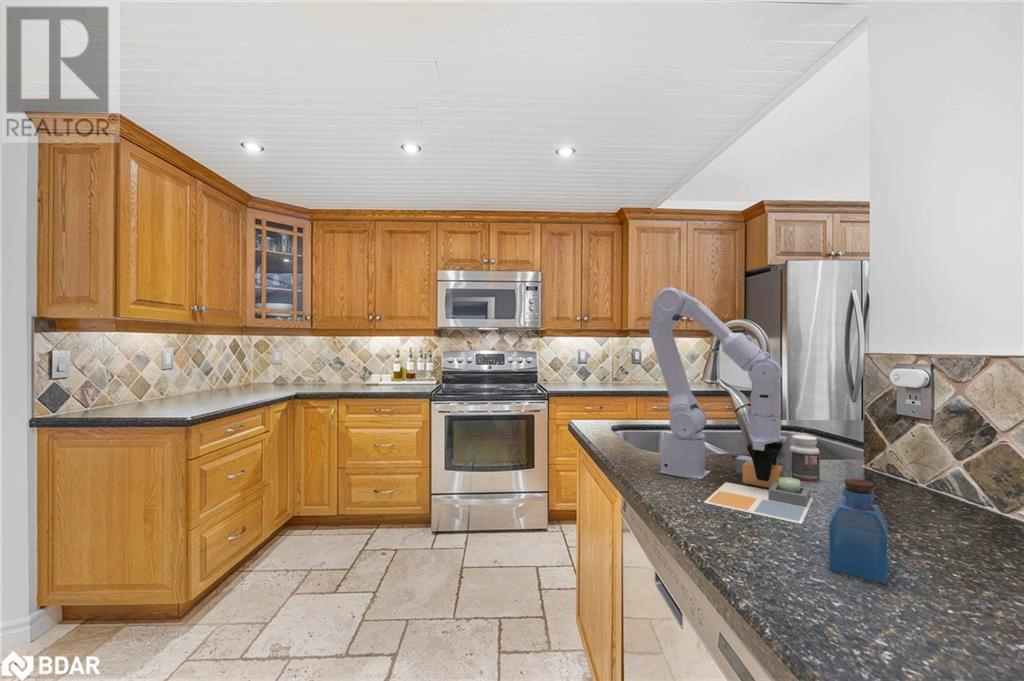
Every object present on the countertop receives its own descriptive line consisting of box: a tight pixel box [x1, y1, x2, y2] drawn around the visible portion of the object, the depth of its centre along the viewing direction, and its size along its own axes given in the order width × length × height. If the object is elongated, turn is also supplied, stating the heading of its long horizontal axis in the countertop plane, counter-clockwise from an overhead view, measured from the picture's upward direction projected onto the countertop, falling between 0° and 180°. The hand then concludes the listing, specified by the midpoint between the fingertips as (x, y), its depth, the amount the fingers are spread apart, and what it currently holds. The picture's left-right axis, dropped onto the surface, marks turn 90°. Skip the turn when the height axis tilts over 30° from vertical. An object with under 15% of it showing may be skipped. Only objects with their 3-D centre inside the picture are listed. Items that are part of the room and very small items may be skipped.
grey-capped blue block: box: [735, 454, 753, 475], centre depth 106 cm, size 8×4×4 cm, turn 50°
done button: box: [779, 477, 801, 493], centre depth 89 cm, size 4×4×2 cm
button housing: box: [767, 482, 811, 507], centre depth 89 cm, size 6×6×2 cm
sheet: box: [703, 481, 814, 525], centre depth 88 cm, size 16×16×1 cm
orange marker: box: [742, 461, 790, 489], centre depth 98 cm, size 8×4×4 cm, turn 51°
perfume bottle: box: [828, 478, 888, 586], centre depth 63 cm, size 6×6×12 cm
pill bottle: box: [789, 434, 821, 484], centre depth 102 cm, size 6×6×10 cm
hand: (765, 477), depth 98 cm, fingers closed on orange marker, 4 cm apart
